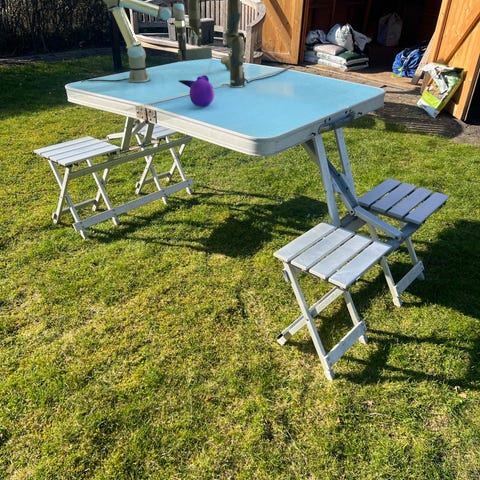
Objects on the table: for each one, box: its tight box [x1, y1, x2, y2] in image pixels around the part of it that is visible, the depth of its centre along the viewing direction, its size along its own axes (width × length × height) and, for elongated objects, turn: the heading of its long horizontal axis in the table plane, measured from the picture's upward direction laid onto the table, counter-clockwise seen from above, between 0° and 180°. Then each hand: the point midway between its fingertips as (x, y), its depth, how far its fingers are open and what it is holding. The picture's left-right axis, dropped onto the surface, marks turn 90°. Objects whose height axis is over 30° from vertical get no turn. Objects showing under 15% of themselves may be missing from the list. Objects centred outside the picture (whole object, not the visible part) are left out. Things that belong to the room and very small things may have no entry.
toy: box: [178, 74, 216, 108], centre depth 268 cm, size 16×18×27 cm
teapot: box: [220, 49, 245, 71], centre depth 370 cm, size 21×12×15 cm, turn 120°
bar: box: [177, 46, 213, 63], centre depth 350 cm, size 26×5×8 cm, turn 113°
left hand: (183, 59), depth 349 cm, fingers closed on bar, 5 cm apart
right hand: (196, 45), depth 290 cm, fingers open, 8 cm apart
